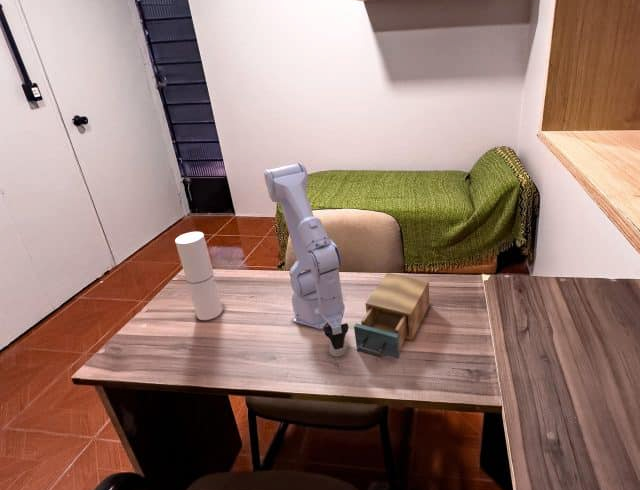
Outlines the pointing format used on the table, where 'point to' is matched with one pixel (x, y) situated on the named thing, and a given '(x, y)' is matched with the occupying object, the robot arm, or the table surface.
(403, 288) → the cabinet
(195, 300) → the cylindrical container
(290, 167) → the robot arm
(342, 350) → the chess piece
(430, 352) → the table surface
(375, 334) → the drawer
